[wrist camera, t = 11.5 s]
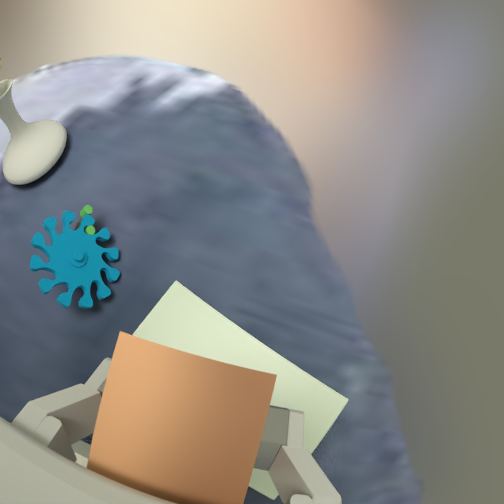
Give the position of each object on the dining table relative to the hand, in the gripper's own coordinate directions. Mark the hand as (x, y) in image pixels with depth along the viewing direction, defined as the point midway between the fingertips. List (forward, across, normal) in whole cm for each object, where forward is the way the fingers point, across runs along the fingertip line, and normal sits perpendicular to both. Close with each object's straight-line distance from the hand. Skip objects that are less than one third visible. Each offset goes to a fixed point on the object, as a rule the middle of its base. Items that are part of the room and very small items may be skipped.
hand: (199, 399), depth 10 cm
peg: (+5, 0, +6) cm, 7 cm away
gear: (+19, +17, +8) cm, 27 cm away
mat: (+13, 0, +14) cm, 19 cm away
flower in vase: (+28, +35, 0) cm, 45 cm away
